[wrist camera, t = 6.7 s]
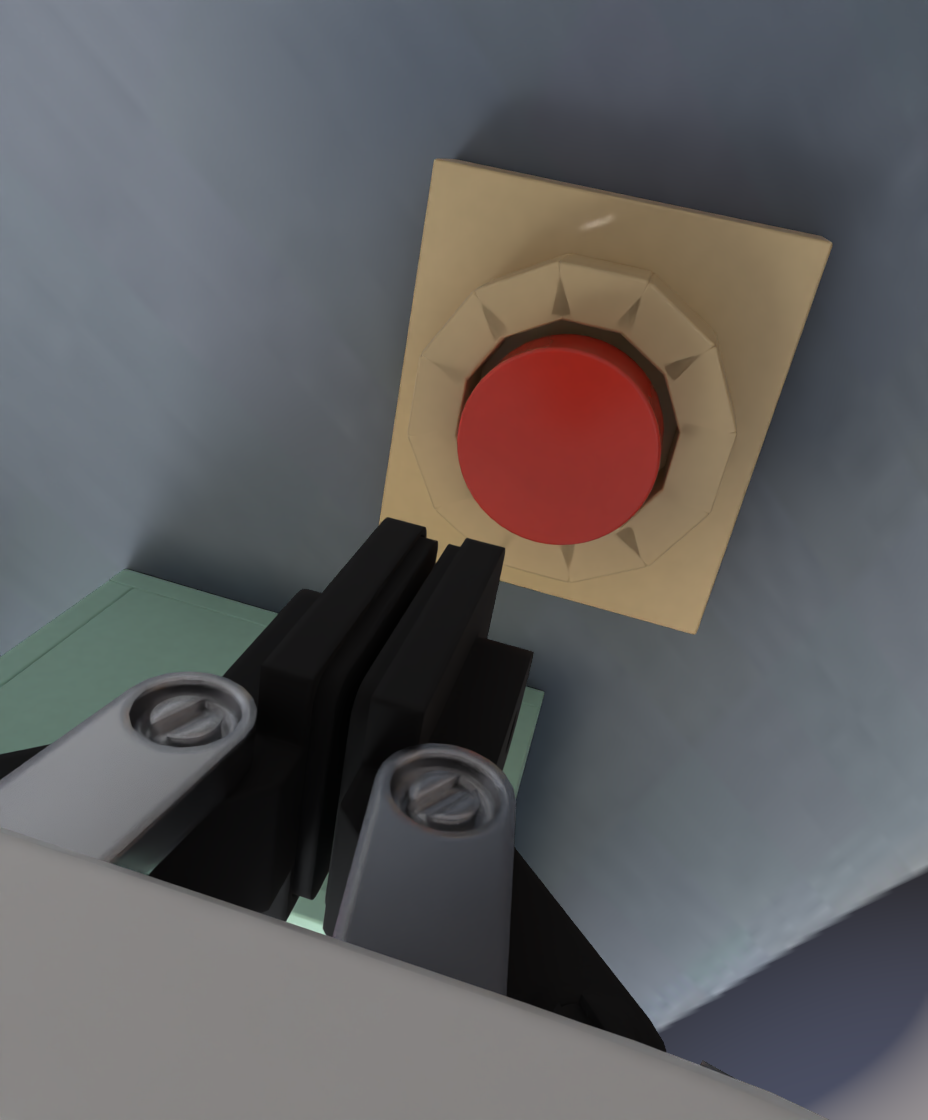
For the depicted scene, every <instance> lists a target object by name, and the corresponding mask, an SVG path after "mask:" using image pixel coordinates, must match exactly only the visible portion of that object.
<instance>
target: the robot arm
mask: <svg viewBox="0 0 928 1120" xmlns="http://www.w3.org/2000/svg"><path fill="white" fill-rule="evenodd" d="M437 552H438V541H437V540H433V539H429V538H427V530H426V527H424V526H420V525H416V524H413V523H409V522H405V521H401V520H397V519H393V518H390V517H386V518H385V519H384V520H383V521H382V522H381V524H380V525H379V526H378V527H377V528H376V530H375V531H374V532H373V533H372V534H371V536H370V537H369V538H368V539H367V540H366V541H365V543H364V544H363V545H362V546H361V547H360V549H359V550H358V551H357V552H356V553H355V554H354V556H353V557H352V558H351V559H350V560H349V562H348V563H347V564H346V565H345V566H344V567H343V569H342V570H341V571H340V572H339V573H338V575H337V576H336V577H335V578H334V579H333V580H332V582H331V583H330V584H329V585H328V586H327V588H326V589H325V590H324V591H323V592H322V593H319V592H316V591H312V590H309V589H302V590H300V591H299V592H298V593H297V594H296V595H295V596H294V597H293V598H292V599H291V600H290V601H289V603H288V604H287V605H286V606H285V607H284V608H283V609H282V610H281V611H280V613H279V614H278V615H277V616H276V617H275V618H274V619H273V620H272V621H271V623H270V624H269V625H268V626H267V627H266V628H265V629H264V630H263V631H262V633H261V634H260V635H259V636H258V637H257V638H256V639H255V640H254V641H253V643H252V644H251V645H250V646H249V647H248V648H247V649H246V650H245V651H244V653H243V654H242V655H241V656H240V657H239V658H238V659H237V660H236V661H235V662H234V664H233V665H232V666H231V667H230V668H229V669H228V670H227V671H226V672H225V674H224V675H223V676H222V677H221V676H218V675H214V674H211V673H203V672H192V671H185V672H174V673H166V674H162V675H159V676H155V677H152V678H148V679H146V680H144V681H142V682H140V683H138V684H137V685H135V686H133V687H131V688H129V689H128V690H127V691H125V692H124V693H122V694H121V695H120V696H118V697H117V698H115V699H114V700H112V701H111V702H110V703H108V704H107V705H105V706H104V707H103V708H101V709H100V710H98V711H97V712H96V713H94V714H93V715H91V716H90V717H88V718H87V719H86V720H84V721H83V722H81V723H80V724H79V725H77V726H76V727H74V728H73V729H71V730H70V731H69V732H67V733H66V734H64V735H63V736H62V737H60V738H59V739H57V740H56V741H55V742H53V743H52V744H48V745H43V746H38V747H33V748H28V749H24V750H19V751H14V752H9V753H4V754H0V1120H829V1119H826V1118H824V1117H822V1116H820V1115H818V1114H816V1113H814V1112H812V1111H810V1110H807V1109H805V1108H803V1107H801V1106H799V1105H797V1104H795V1103H793V1102H790V1101H788V1100H786V1099H784V1098H782V1097H780V1096H778V1095H775V1094H773V1093H771V1092H769V1091H766V1090H763V1089H761V1088H758V1087H756V1086H753V1085H750V1084H747V1083H745V1082H742V1081H740V1080H737V1079H735V1078H733V1077H732V1076H730V1075H728V1074H726V1073H724V1072H723V1071H721V1070H719V1069H717V1068H716V1067H714V1066H712V1065H710V1064H708V1063H707V1062H705V1061H702V1062H701V1064H700V1065H698V1064H695V1063H692V1062H690V1061H687V1060H684V1059H682V1058H679V1057H676V1056H674V1055H671V1054H669V1053H667V1052H666V1049H665V1045H664V1042H663V1041H662V1039H661V1037H660V1036H659V1034H658V1032H657V1031H656V1029H655V1027H654V1026H653V1024H652V1022H651V1021H650V1019H649V1018H648V1017H647V1015H646V1014H645V1013H644V1011H643V1010H642V1009H641V1008H640V1006H639V1005H638V1004H637V1003H636V1001H635V1000H634V999H633V997H632V996H631V995H630V994H629V992H628V991H627V990H626V989H625V987H624V986H623V985H622V983H621V982H620V981H619V980H618V978H617V977H616V976H615V975H614V973H613V972H612V971H611V969H610V968H609V967H608V966H607V964H606V963H605V962H604V961H603V959H602V958H601V957H600V955H599V954H598V953H597V952H596V950H595V949H594V948H593V947H592V945H591V944H590V943H589V941H588V940H587V939H586V938H585V936H584V935H583V934H582V933H581V931H580V930H579V929H578V927H577V926H576V925H575V924H574V922H573V921H572V920H571V919H570V917H569V916H568V915H567V913H566V912H565V911H564V910H563V908H562V907H561V906H560V905H559V903H558V902H557V901H556V899H555V898H554V897H553V896H552V894H551V893H550V892H549V891H548V889H547V888H546V887H545V885H544V884H543V883H542V882H541V880H540V879H539V878H538V877H537V875H536V874H535V873H534V871H533V870H532V869H531V868H530V866H529V865H528V864H527V863H526V861H525V860H524V859H523V857H522V856H521V855H520V854H519V852H518V851H517V850H516V849H515V847H514V839H515V820H516V799H515V793H514V788H513V786H512V785H511V783H510V781H509V780H508V778H507V776H506V775H505V773H504V772H503V768H504V765H505V762H506V758H507V755H508V752H509V748H510V745H511V741H512V738H513V734H514V730H515V727H516V723H517V719H518V716H519V712H520V708H521V704H522V700H523V696H524V692H525V688H526V684H527V680H528V676H529V672H530V667H531V663H532V659H533V653H534V652H532V651H529V650H525V649H522V648H518V647H514V646H511V645H507V644H504V643H500V642H496V641H493V640H489V639H487V636H488V632H489V627H490V622H491V618H492V613H493V609H494V604H495V599H496V595H497V590H498V585H499V581H500V576H501V572H502V567H503V562H504V557H505V548H504V547H500V546H497V545H493V544H489V543H485V542H481V541H478V540H474V539H470V538H466V539H465V540H464V542H463V543H462V545H461V547H459V546H456V545H452V544H448V545H447V547H446V548H445V550H444V551H443V553H442V555H441V556H440V558H439V559H438V561H437V563H436V558H437ZM328 872H329V874H328ZM327 874H328V881H327V888H326V896H325V904H326V907H325V914H324V922H323V930H324V932H325V934H326V935H323V934H321V933H318V932H315V931H312V930H309V929H306V928H303V927H300V926H297V925H294V924H291V923H288V922H286V921H287V919H288V917H289V915H290V913H291V912H292V910H293V908H294V906H295V904H296V902H297V900H298V898H299V897H300V896H301V897H304V898H307V899H310V900H313V899H314V898H315V897H316V895H317V894H318V892H319V890H320V888H321V886H322V884H323V882H324V880H325V878H326V876H327Z"/></svg>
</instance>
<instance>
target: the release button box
mask: <svg viewBox="0 0 928 1120" xmlns="http://www.w3.org/2000/svg"><path fill="white" fill-rule="evenodd" d="M831 248H832V242H830V241H829V240H827V239H825V238H824V237H822V236H818V235H814V234H809V233H804V232H799V231H795V230H790V229H785V228H780V227H775V226H771V225H766V224H761V223H756V222H752V221H747V220H742V219H737V218H733V217H728V216H723V215H718V214H714V213H709V212H704V211H699V210H695V209H690V208H685V207H680V206H676V205H671V204H666V203H661V202H657V201H652V200H647V199H642V198H638V197H633V196H628V195H623V194H619V193H614V192H609V191H604V190H600V189H595V188H590V187H585V186H581V185H576V184H571V183H566V182H562V181H557V180H552V179H547V178H543V177H538V176H533V175H528V174H523V173H519V172H514V171H509V170H504V169H500V168H495V167H490V166H485V165H481V164H476V163H471V162H466V161H462V160H457V159H435V160H434V163H433V170H432V177H431V183H430V190H429V196H428V203H427V210H426V216H425V223H424V230H423V236H422V243H421V249H420V256H419V263H418V269H417V276H416V282H415V289H414V296H413V302H412V309H411V315H410V322H409V329H408V335H407V342H406V348H405V355H404V362H403V368H402V375H401V381H400V388H399V395H398V401H397V408H396V414H395V421H394V428H393V434H392V441H391V448H390V454H389V461H388V467H387V474H386V481H385V487H384V494H383V500H382V507H381V514H380V520H379V525H380V524H381V522H382V521H383V520H384V519H385V518H386V517H390V518H393V519H397V520H401V521H405V522H409V523H413V524H416V525H420V526H424V527H426V530H427V538H429V539H433V540H437V541H438V552H437V558H436V563H437V561H438V559H439V558H440V556H441V555H442V553H443V551H444V550H445V548H446V547H447V545H448V544H452V545H456V546H459V547H461V545H462V543H463V542H464V540H465V539H466V538H470V539H474V540H478V541H481V542H485V543H489V544H493V545H497V546H500V547H504V548H505V557H504V562H503V567H502V572H501V576H500V581H503V582H506V583H510V584H513V585H517V586H521V587H524V588H528V589H531V590H535V591H539V592H542V593H546V594H550V595H553V596H557V597H560V598H564V599H568V600H571V601H575V602H578V603H582V604H586V605H589V606H593V607H596V608H600V609H604V610H607V611H611V612H614V613H618V614H622V615H625V616H629V617H632V618H636V619H640V620H643V621H647V622H650V623H654V624H658V625H661V626H665V627H668V628H672V629H676V630H679V631H683V632H686V633H690V634H696V633H697V630H698V628H699V625H700V622H701V619H702V616H703V613H704V610H705V608H706V605H707V602H708V599H709V596H710V593H711V591H712V588H713V585H714V582H715V579H716V576H717V573H718V571H719V568H720V565H721V562H722V559H723V556H724V553H725V551H726V548H727V545H728V542H729V539H730V536H731V533H732V531H733V528H734V525H735V522H736V519H737V516H738V514H739V511H740V508H741V505H742V502H743V499H744V496H745V494H746V491H747V488H748V485H749V482H750V479H751V476H752V474H753V471H754V468H755V465H756V462H757V459H758V456H759V454H760V451H761V448H762V445H763V442H764V439H765V437H766V434H767V431H768V428H769V425H770V422H771V419H772V417H773V414H774V411H775V408H776V405H777V402H778V399H779V397H780V394H781V391H782V388H783V385H784V382H785V379H786V377H787V374H788V371H789V368H790V365H791V362H792V360H793V357H794V354H795V351H796V348H797V345H798V342H799V340H800V337H801V334H802V331H803V328H804V325H805V322H806V320H807V317H808V314H809V311H810V308H811V305H812V302H813V300H814V297H815V294H816V291H817V288H818V285H819V282H820V280H821V277H822V274H823V271H824V268H825V265H826V263H827V260H828V257H829V254H830V251H831ZM556 334H578V335H584V336H590V337H593V338H596V339H600V340H602V341H605V342H607V343H609V344H611V345H613V346H615V347H617V348H618V349H620V350H621V351H623V352H625V353H626V354H627V355H628V356H629V357H631V358H632V359H633V360H634V361H635V362H636V363H637V364H638V365H639V366H640V367H641V368H642V370H643V371H644V372H645V374H646V375H647V376H648V378H649V379H650V381H651V383H652V385H653V387H654V389H655V391H656V393H657V395H658V398H659V401H660V404H661V409H662V414H663V422H664V435H663V445H662V453H661V460H660V466H659V470H658V475H657V478H656V481H655V483H654V486H653V489H652V490H651V492H650V494H649V496H648V498H647V500H646V501H645V502H644V504H643V505H642V506H641V508H640V509H639V510H638V511H637V513H636V514H635V515H634V516H633V517H632V518H631V519H630V520H628V521H627V522H626V523H625V524H623V525H622V526H621V527H620V528H618V529H616V530H615V531H613V532H611V533H610V534H608V535H605V536H603V537H601V538H598V539H596V540H592V541H589V542H585V543H580V544H574V545H551V544H543V543H539V542H534V541H531V540H528V539H525V538H522V537H520V536H518V535H516V534H514V533H511V532H510V531H508V530H506V529H505V528H503V527H502V526H500V525H499V524H498V523H496V522H495V521H494V520H493V519H491V518H490V517H489V516H488V515H487V514H486V513H485V512H484V511H483V509H482V508H481V507H480V506H479V504H478V503H477V502H476V501H475V499H474V498H473V496H472V494H471V493H470V491H469V489H468V487H467V485H466V483H465V480H464V478H463V476H462V472H461V469H460V465H459V460H458V453H457V434H458V426H459V422H460V418H461V414H462V411H463V409H464V406H465V404H466V401H467V400H468V398H469V396H470V394H471V393H472V391H473V390H474V388H475V387H476V386H477V384H478V383H479V382H480V380H481V379H482V378H483V377H484V376H485V375H486V374H487V373H489V372H490V371H491V370H492V369H493V368H494V367H495V366H496V365H497V364H498V363H499V362H500V361H501V360H502V359H503V358H504V357H505V356H506V355H507V354H509V353H510V352H511V351H513V350H514V349H516V348H518V347H519V346H521V345H523V344H525V343H527V342H529V341H532V340H534V339H537V338H541V337H545V336H549V335H556Z"/></svg>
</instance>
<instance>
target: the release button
mask: <svg viewBox="0 0 928 1120" xmlns="http://www.w3.org/2000/svg"><path fill="white" fill-rule="evenodd" d="M663 435H664V422H663V414H662V409H661V404H660V401H659V398H658V395H657V393H656V391H655V389H654V387H653V385H652V383H651V381H650V379H649V378H648V376H647V375H646V374H645V372H644V371H643V370H642V368H641V367H640V366H639V365H638V364H637V363H636V362H635V361H634V360H633V359H632V358H631V357H629V356H628V355H627V354H626V353H625V352H623V351H621V350H620V349H618V348H617V347H615V346H613V345H611V344H609V343H607V342H605V341H602V340H600V339H596V338H593V337H590V336H584V335H578V334H556V335H549V336H545V337H541V338H537V339H534V340H532V341H529V342H527V343H525V344H523V345H521V346H519V347H518V348H516V349H514V350H513V351H511V352H510V353H509V354H507V355H506V356H505V357H504V358H503V359H502V360H501V361H500V362H499V363H498V364H497V365H496V366H495V367H494V368H493V369H492V370H491V371H490V372H489V373H487V374H486V375H485V376H484V377H483V378H482V379H481V380H480V382H479V383H478V384H477V386H476V387H475V388H474V390H473V391H472V393H471V394H470V396H469V398H468V400H467V401H466V404H465V406H464V409H463V411H462V414H461V418H460V422H459V426H458V434H457V453H458V460H459V465H460V469H461V472H462V476H463V478H464V480H465V483H466V485H467V487H468V489H469V491H470V493H471V494H472V496H473V498H474V499H475V501H476V502H477V503H478V504H479V506H480V507H481V508H482V509H483V511H484V512H485V513H486V514H487V515H488V516H489V517H490V518H491V519H493V520H494V521H495V522H496V523H498V524H499V525H500V526H502V527H503V528H505V529H506V530H508V531H510V532H511V533H514V534H516V535H518V536H520V537H522V538H525V539H528V540H531V541H534V542H539V543H543V544H551V545H574V544H580V543H585V542H589V541H592V540H596V539H598V538H601V537H603V536H605V535H608V534H610V533H611V532H613V531H615V530H616V529H618V528H620V527H621V526H622V525H623V524H625V523H626V522H627V521H628V520H630V519H631V518H632V517H633V516H634V515H635V514H636V513H637V511H638V510H639V509H640V508H641V506H642V505H643V504H644V502H645V501H646V500H647V498H648V496H649V494H650V492H651V490H652V489H653V486H654V483H655V481H656V478H657V475H658V470H659V466H660V460H661V453H662V445H663Z"/></svg>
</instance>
